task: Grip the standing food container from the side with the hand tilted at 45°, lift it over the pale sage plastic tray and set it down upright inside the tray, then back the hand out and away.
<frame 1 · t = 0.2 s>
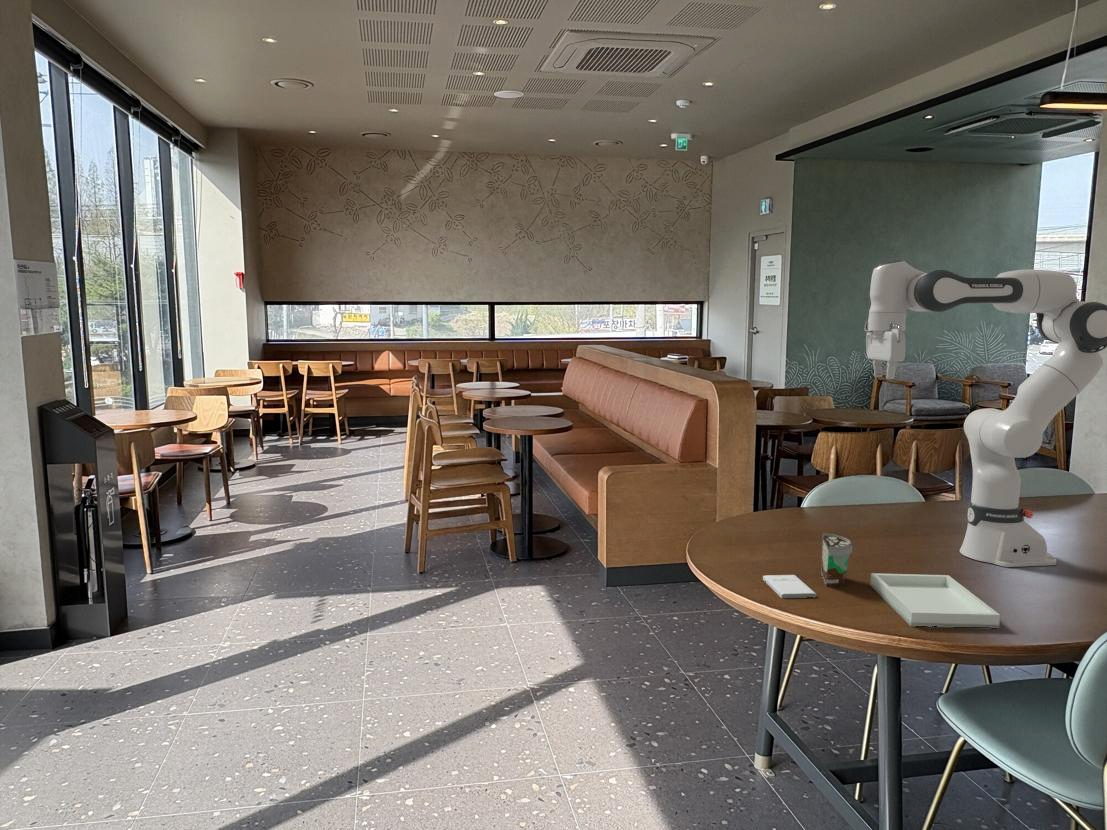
hand: (884, 378, 207), 47 cm above the table, tool pointing down, fingers open, 8 cm apart
food container: (836, 581, 193), on the table
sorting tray: (930, 605, 178), on the table
external hard drive: (788, 591, 188), on the table
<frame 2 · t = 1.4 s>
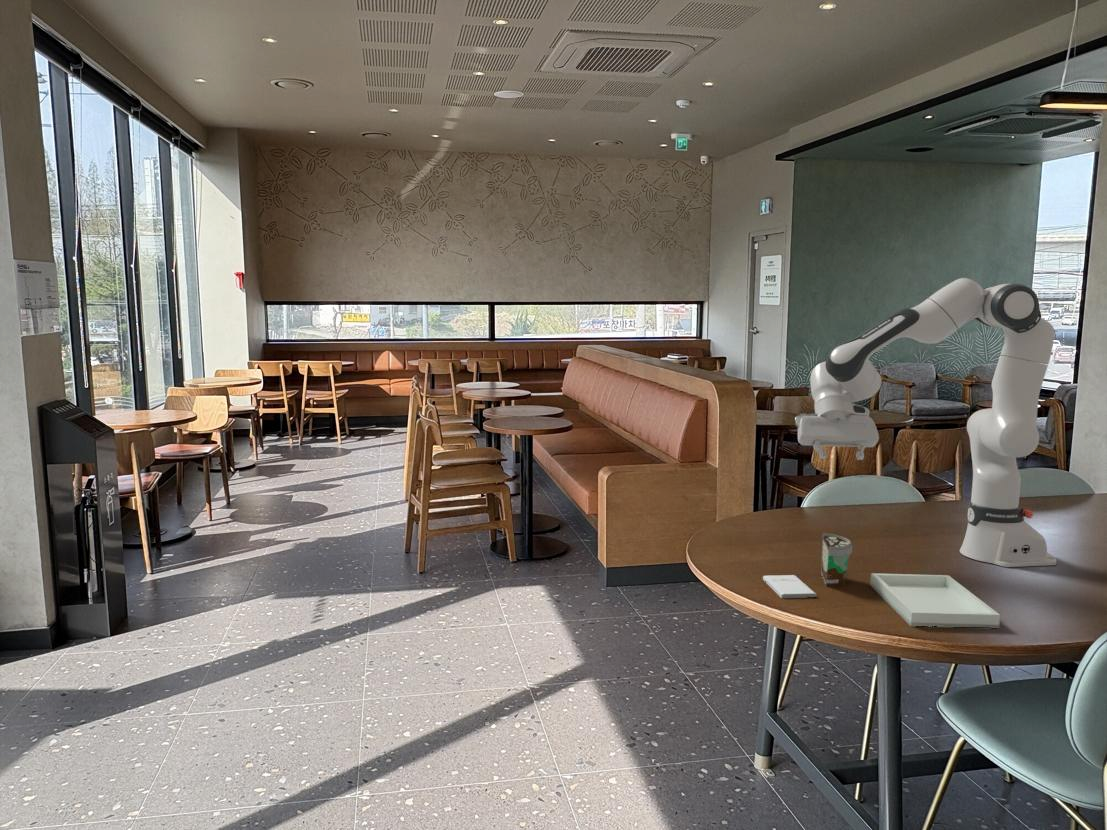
hand: (842, 457, 205), 27 cm above the table, tool tilted 45°, fingers open, 8 cm apart
nothing on the table moved.
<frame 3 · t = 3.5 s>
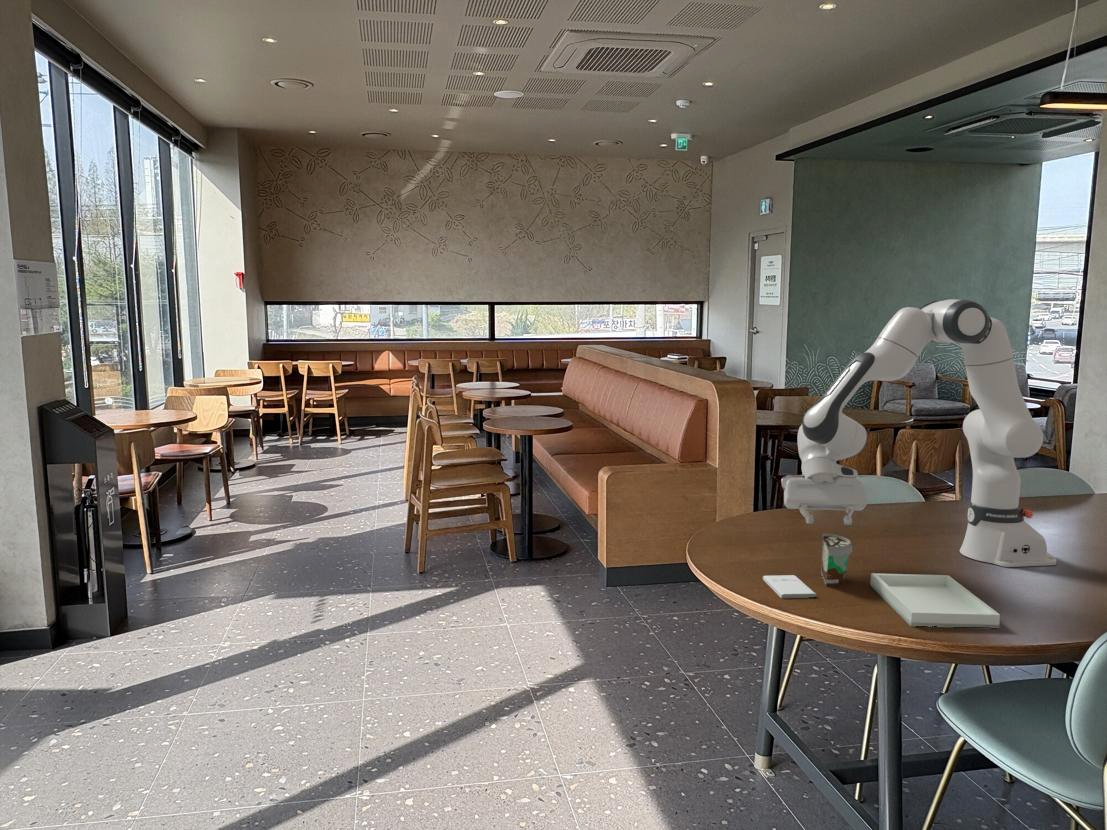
hand: (829, 523, 199), 12 cm above the table, tool tilted 45°, fingers open, 8 cm apart
nothing on the table moved.
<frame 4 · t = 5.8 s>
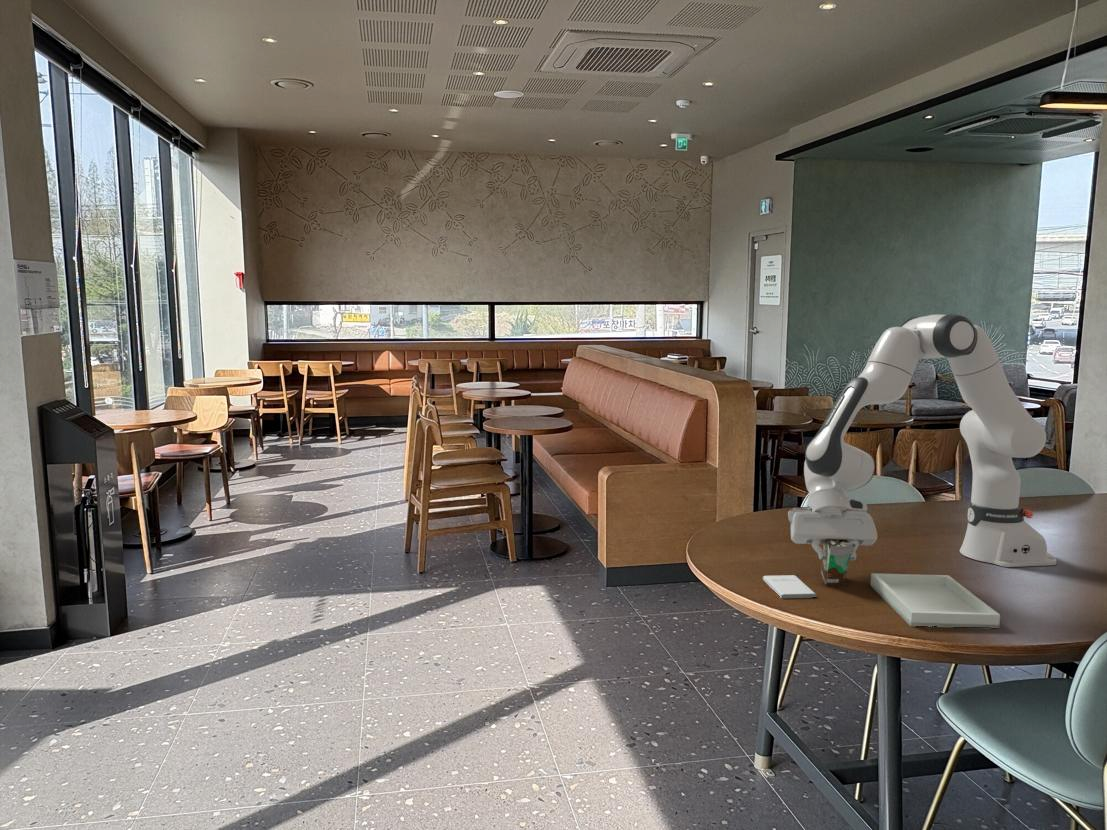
hand: (838, 559, 192), 6 cm above the table, tool tilted 45°, fingers closed on food container, 5 cm apart
food container: (836, 580, 193), on the table, touching gripper
everything else where it was.
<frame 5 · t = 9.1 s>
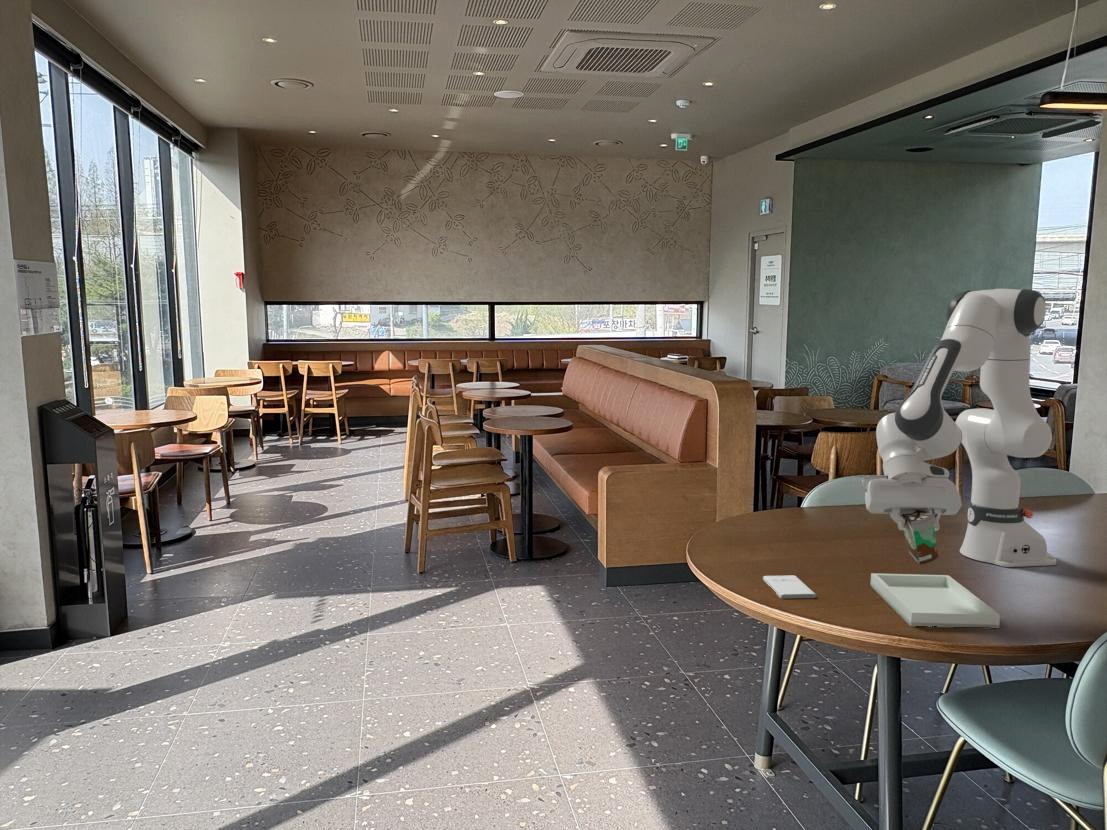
hand: (919, 529, 176), 17 cm above the table, tool tilted 45°, fingers closed on food container, 5 cm apart
food container: (928, 556, 177), point 11 cm above the table, touching gripper
everything else where it was.
when the fingers open (8 cm above the table, at t = 11.7 s): food container moves 1 cm, resting on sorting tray.
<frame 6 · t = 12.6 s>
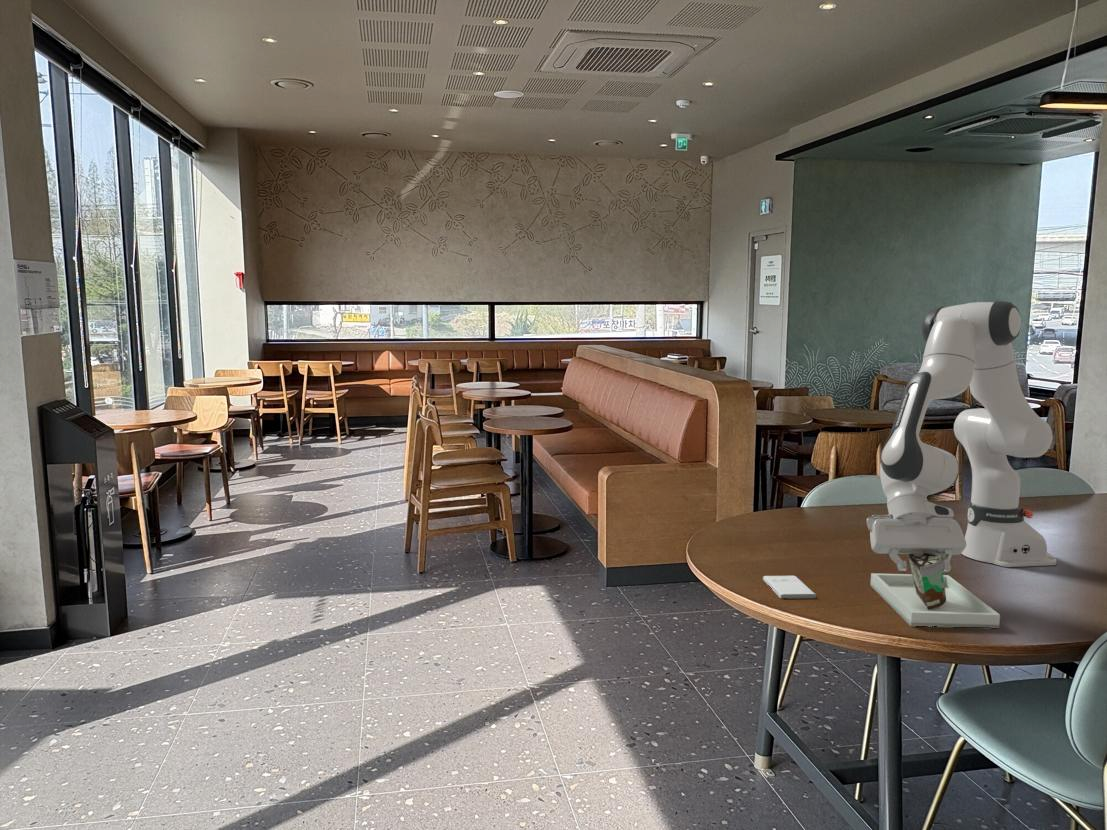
hand: (924, 570, 177), 8 cm above the table, tool tilted 45°, fingers open, 8 cm apart
food container: (936, 600, 177), point 1 cm above the table, touching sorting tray
everything else where it was.
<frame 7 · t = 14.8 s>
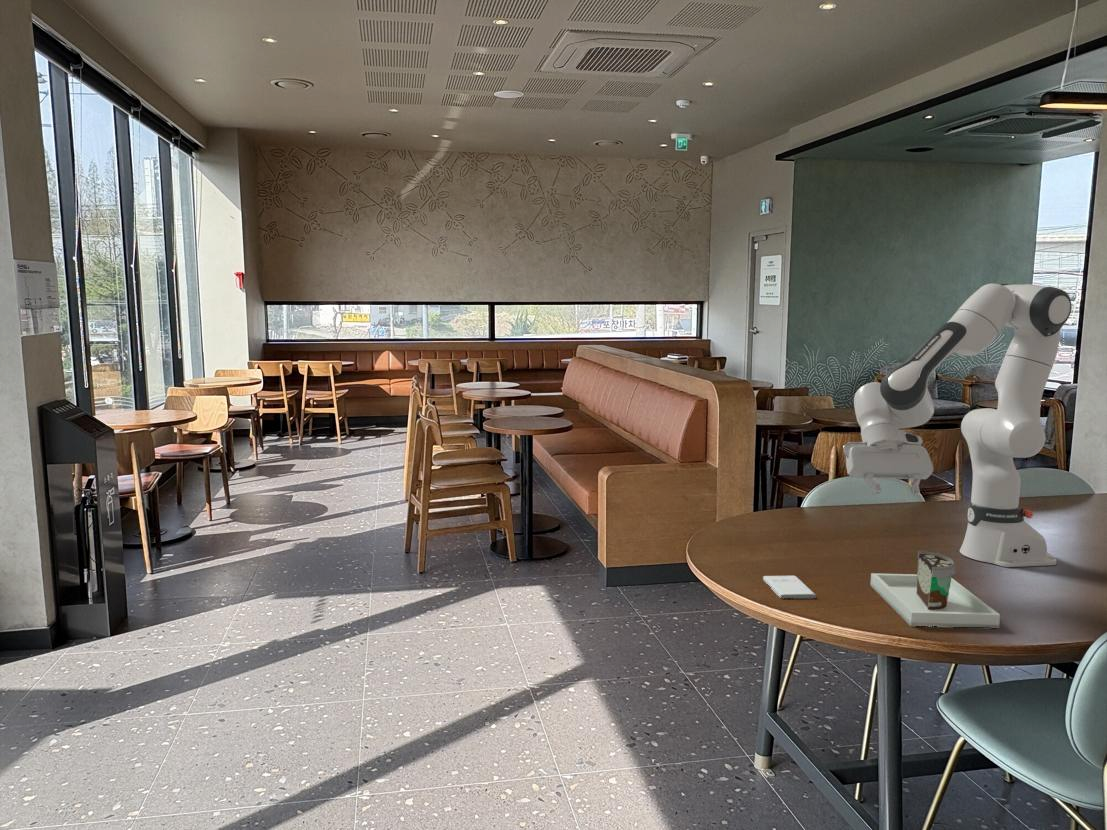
hand: (896, 493, 189), 22 cm above the table, tool tilted 40°, fingers open, 8 cm apart
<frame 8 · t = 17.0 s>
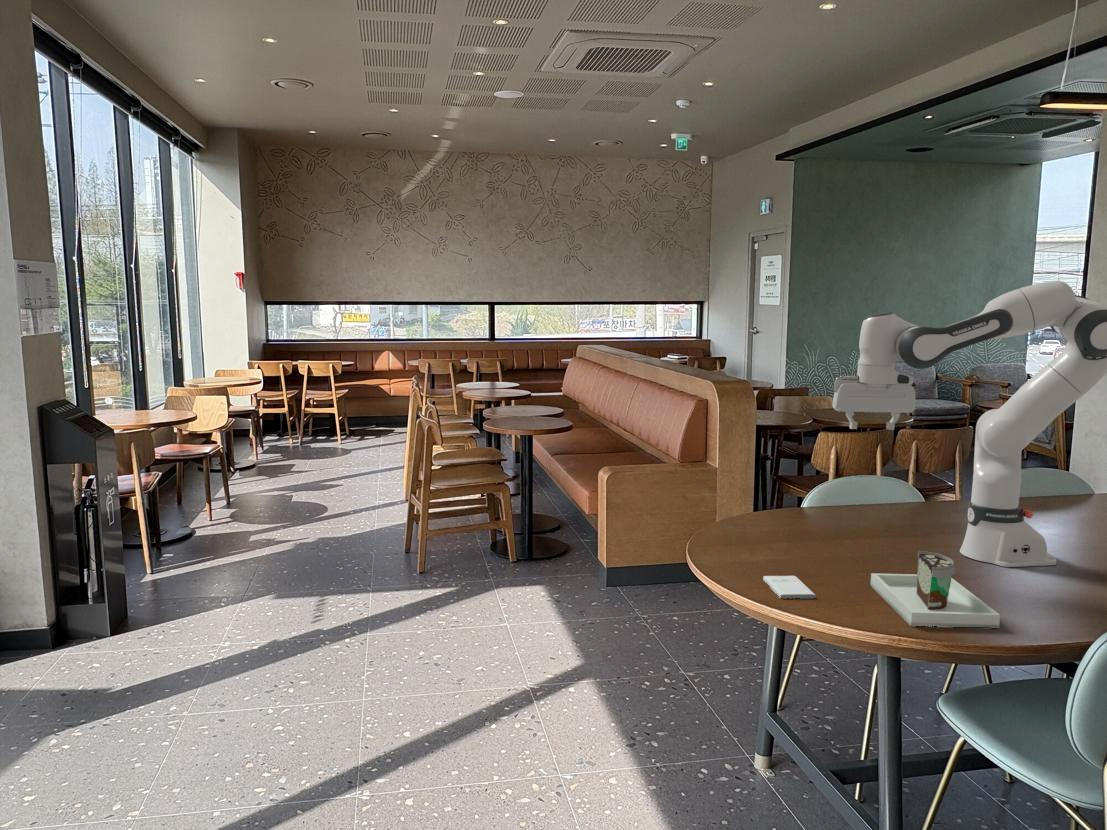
hand: (871, 429, 208), 34 cm above the table, tool pointing down, fingers open, 8 cm apart
at the end: food container inside the target area on the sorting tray (1.2 cm from its centre), point 0.6 cm above the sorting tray's base; food container tilted 0°; the gripper is holding nothing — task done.
